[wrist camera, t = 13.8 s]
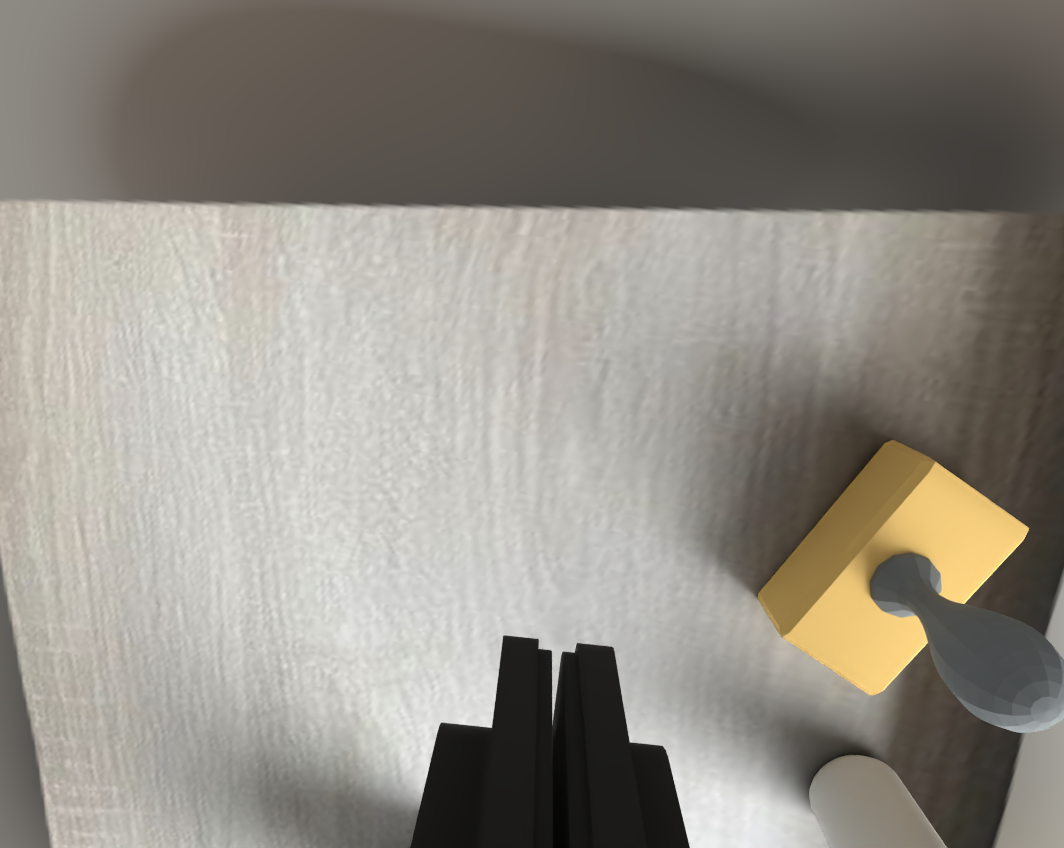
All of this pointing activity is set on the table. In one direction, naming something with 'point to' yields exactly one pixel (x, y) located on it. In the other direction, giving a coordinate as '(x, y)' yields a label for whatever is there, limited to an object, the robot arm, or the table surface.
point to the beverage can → (868, 807)
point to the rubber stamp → (916, 592)
